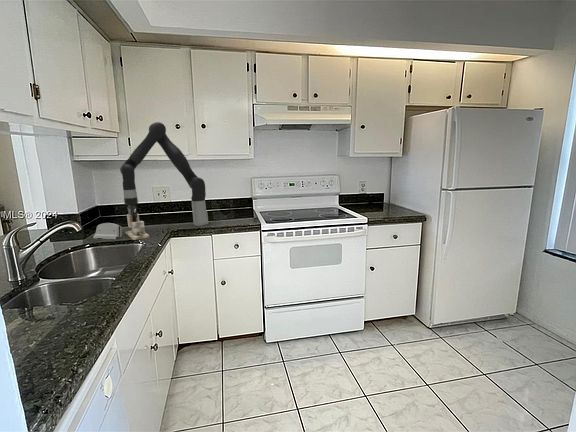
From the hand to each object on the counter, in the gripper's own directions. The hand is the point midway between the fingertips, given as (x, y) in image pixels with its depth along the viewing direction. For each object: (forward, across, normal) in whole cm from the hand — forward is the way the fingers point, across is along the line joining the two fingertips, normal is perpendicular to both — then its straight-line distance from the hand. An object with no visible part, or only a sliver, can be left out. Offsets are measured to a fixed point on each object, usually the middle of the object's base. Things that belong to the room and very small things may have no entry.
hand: (133, 223), depth 200 cm
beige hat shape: (+7, +4, 0) cm, 8 cm away
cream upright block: (+2, 0, 0) cm, 2 cm away
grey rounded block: (+7, -5, -14) cm, 17 cm away
